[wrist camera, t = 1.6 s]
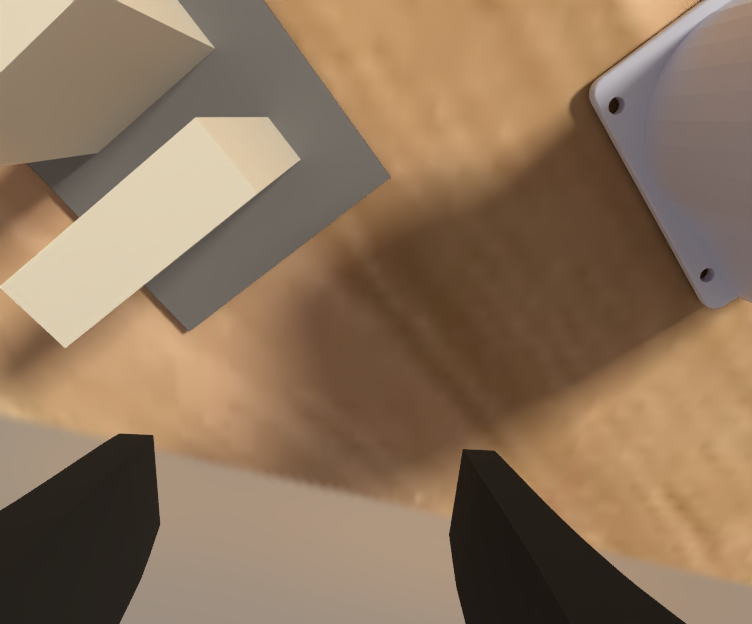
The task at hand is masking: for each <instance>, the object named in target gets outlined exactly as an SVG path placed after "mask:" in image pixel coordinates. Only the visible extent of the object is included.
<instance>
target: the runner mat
mask: <svg viewBox="0 0 752 624" xmlns="http://www.w3.org/2000/svg"><path fill="white" fill-rule="evenodd" d="M178 1H179V2H180V4H181V5H182V6H183V8H184V9H185V10H186V12H187V13H188V14H189V15H190V17H191V18H192V19H193V21H194V22H195V23H196V24H197V26H198V27H199V28H200V30H201V31H202V32H203V34H204V35H205V36H206V37H207V39H208V40H209V41H210V43H211V44H212V45H213V46H214V48H215V49H214V50H213V51H212V52H211V53H210V54H209V55H208V56H207V57H205V58H204V59H203V60H202V61H201V62H200V63H199V64H198V65H196V66H195V67H194V68H193V69H192V70H191V71H190V72H189V73H187V74H186V75H185V76H184V77H183V78H182V79H181V80H179V81H178V82H177V83H176V84H175V85H174V86H173V87H172V88H170V89H169V90H168V91H167V92H166V93H165V94H164V95H163V96H161V97H160V98H159V99H158V100H157V101H156V102H155V103H154V104H152V105H151V106H150V107H149V108H148V109H147V110H146V111H145V112H143V113H142V114H141V115H140V116H139V117H138V118H137V119H136V120H134V121H133V122H132V123H131V124H130V125H129V126H128V127H127V128H125V129H124V130H123V131H122V132H121V133H120V134H119V135H118V136H116V137H115V138H114V139H113V140H112V141H111V142H110V143H109V144H107V145H106V146H105V147H104V148H103V149H102V150H101V151H100V152H98V153H95V154H88V155H81V156H73V157H66V158H59V159H52V160H45V161H38V162H31V163H27V164H28V165H29V166H30V167H31V168H32V169H33V170H34V171H35V172H36V173H37V174H38V175H39V176H40V177H41V179H42V180H43V181H44V182H45V183H46V184H47V185H48V186H49V187H50V188H51V189H52V190H53V191H54V192H55V193H56V194H57V195H58V196H59V197H60V198H61V199H62V200H63V201H64V202H65V203H66V204H67V206H68V207H69V208H70V209H71V210H72V211H73V212H74V213H75V214H76V215H77V216H78V217H79V218H80V217H81V216H82V215H83V214H84V213H85V212H87V211H88V210H89V209H90V208H91V207H92V206H93V205H95V204H96V203H97V202H98V201H99V200H100V199H102V198H103V197H104V196H105V195H106V194H107V193H108V192H110V191H111V190H112V189H113V188H114V187H115V186H117V185H118V184H119V183H120V182H121V181H122V180H124V179H125V178H126V177H127V176H128V175H129V174H130V173H132V172H133V171H134V170H135V169H136V168H137V167H139V166H140V165H141V164H142V163H143V162H144V161H146V160H147V159H148V158H149V157H150V156H151V155H152V154H154V153H155V152H156V151H157V150H158V149H159V148H161V147H162V146H163V145H164V144H165V143H166V142H168V141H169V140H170V139H171V138H172V137H173V136H174V135H176V134H177V133H178V132H179V131H180V130H181V129H183V128H184V127H185V126H186V125H187V124H188V123H190V122H191V121H192V120H193V119H194V118H195V117H268V118H269V119H270V120H271V122H272V123H273V124H274V126H275V127H276V128H277V129H278V131H279V132H280V133H281V135H282V136H283V137H284V138H285V140H286V141H287V142H288V144H289V145H290V146H291V148H292V149H293V150H294V151H295V153H296V154H297V155H298V157H299V158H300V159H301V160H299V161H298V162H297V163H296V164H294V165H293V166H292V167H291V168H290V169H288V170H287V171H286V172H285V173H283V174H282V175H281V176H280V177H278V178H277V179H276V180H275V181H273V182H272V183H271V184H270V185H268V186H267V187H266V188H265V189H263V190H262V191H261V192H260V193H258V194H257V195H256V196H255V197H253V198H252V199H251V200H250V201H249V202H247V203H246V204H245V205H244V206H242V207H241V208H240V209H239V210H237V211H236V212H235V213H234V214H232V215H231V216H230V217H229V218H227V219H226V220H225V221H224V222H222V223H221V224H220V225H219V226H217V227H216V228H215V229H214V230H212V231H211V232H210V233H209V234H208V235H206V236H205V237H204V238H203V239H201V240H200V241H199V242H198V243H196V244H195V245H194V246H193V247H191V248H190V249H189V250H188V251H186V252H185V253H184V254H183V255H181V256H180V257H179V258H178V259H176V260H175V261H174V262H173V263H171V264H170V265H169V266H168V267H166V268H165V269H164V270H163V271H161V272H160V273H159V274H158V275H156V276H155V277H154V278H153V279H151V280H150V281H149V282H148V283H146V284H145V287H146V288H147V289H148V290H149V291H150V292H151V293H152V294H153V295H154V296H155V297H156V298H157V299H158V300H159V301H160V302H161V303H162V304H163V305H164V306H165V307H166V308H167V309H168V310H169V311H170V312H171V313H172V315H173V316H174V317H175V318H176V319H177V320H178V321H179V322H180V323H181V324H182V325H183V326H184V327H185V328H186V329H187V330H188V331H191V330H192V329H193V328H195V327H196V326H197V325H199V324H200V323H201V322H202V321H204V320H205V319H206V318H208V317H209V316H210V315H212V314H213V313H214V312H215V311H217V310H218V309H219V308H221V307H222V306H223V305H225V304H226V303H227V302H229V301H230V300H231V299H232V298H234V297H235V296H236V295H238V294H239V293H240V292H242V291H243V290H244V289H245V288H247V287H248V286H249V285H251V284H252V283H253V282H255V281H256V280H257V279H259V278H260V277H261V276H262V275H264V274H265V273H266V272H268V271H269V270H270V269H272V268H273V267H274V266H275V265H277V264H278V263H279V262H281V261H282V260H283V259H285V258H286V257H287V256H289V255H290V254H291V253H292V252H294V251H295V250H296V249H298V248H299V247H300V246H302V245H303V244H304V243H305V242H307V241H308V240H309V239H311V238H312V237H313V236H315V235H316V234H317V233H319V232H320V231H321V230H322V229H324V228H325V227H326V226H328V225H329V224H330V223H332V222H333V221H334V220H335V219H337V218H338V217H339V216H341V215H342V214H343V213H345V212H346V211H347V210H349V209H350V208H351V207H352V206H354V205H355V204H356V203H358V202H359V201H360V200H362V199H363V198H364V197H365V196H367V195H368V194H369V193H371V192H372V191H373V190H375V189H376V188H377V187H379V186H380V185H381V184H382V183H384V182H385V181H386V180H388V179H389V178H390V175H389V174H388V172H387V171H386V170H385V168H384V167H383V165H382V164H381V163H380V161H379V160H378V158H377V157H376V156H375V154H374V153H373V151H372V150H371V149H370V147H369V146H368V144H367V143H366V142H365V140H364V139H363V138H362V136H361V135H360V133H359V132H358V131H357V129H356V128H355V126H354V125H353V124H352V122H351V121H350V119H349V118H348V117H347V115H346V114H345V112H344V111H343V110H342V108H341V107H340V106H339V104H338V103H337V101H336V100H335V99H334V97H333V96H332V94H331V93H330V92H329V90H328V89H327V87H326V86H325V85H324V83H323V82H322V80H321V79H320V78H319V76H318V75H317V74H316V72H315V71H314V69H313V68H312V67H311V65H310V64H309V62H308V61H307V60H306V58H305V57H304V55H303V54H302V53H301V51H300V50H299V48H298V47H297V46H296V44H295V43H294V41H293V40H292V39H291V37H290V36H289V35H288V33H287V32H286V30H285V29H284V28H283V26H282V25H281V23H280V22H279V21H278V19H277V18H276V16H275V15H274V14H273V12H272V11H271V9H270V8H269V7H268V5H267V4H266V3H265V1H264V0H178Z"/></svg>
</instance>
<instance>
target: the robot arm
mask: <svg viewBox="0 0 752 624" xmlns="http://www.w3.org/2000/svg"><path fill="white" fill-rule="evenodd" d="M613 98H616V99H617V100H618V101H619V108H618V110H617V111H616V112H615V113H614V114H612V113H611V112H610V111H609V108H608V106H609V102H610V101H611V100H612V99H613ZM589 99H590V102H591V104H592V106H593V108H594V109H595V111H596V113H597V115H598V117H599V118H600V120H601V122H602V124H603V126H604V128H605V129H606V131H607V133H608V135H609V137H610V138H611V140H612V142H613V144H614V146H615V148H616V149H617V151H618V153H619V155H620V157H621V158H622V160H623V162H624V164H625V166H626V168H627V169H628V171H629V173H630V175H631V177H632V178H633V180H634V182H635V184H636V186H637V188H638V189H639V191H640V193H641V195H642V197H643V198H644V200H645V202H646V204H647V206H648V207H649V209H650V211H651V213H652V215H653V217H654V218H655V220H656V222H657V224H658V226H659V227H660V229H661V231H662V233H663V235H664V237H665V238H666V240H667V242H668V244H669V246H670V247H671V249H672V251H673V253H674V255H675V257H676V258H677V260H678V262H679V264H680V266H681V267H682V269H683V271H684V273H685V275H686V277H687V278H688V280H689V282H690V284H691V286H692V287H693V289H694V291H695V293H696V295H697V297H698V298H699V300H700V302H701V303H702V304H703V305H705V306H707V307H709V308H712V309H718V308H721V307H723V306H725V305H726V304H728V303H729V302H731V301H733V300H734V299H736V298H737V297H741V298H743V299H745V300H747V301H749V302H751V303H752V0H702V1H701V2H699V3H698V4H697V5H695V6H694V7H693V8H691V9H690V10H689V11H687V12H686V13H685V14H683V15H682V16H681V17H679V18H678V19H677V20H675V21H674V22H673V23H671V24H670V25H669V26H667V27H666V28H664V29H663V30H662V31H660V32H659V33H658V34H656V35H655V36H654V37H652V38H651V39H650V40H648V41H647V42H646V43H644V44H643V45H642V46H640V47H639V48H638V49H636V50H635V51H634V52H632V53H631V54H630V55H628V56H627V57H625V58H624V59H623V60H621V61H620V62H619V63H617V64H616V65H615V66H613V67H612V68H611V69H609V70H608V71H607V72H605V73H604V74H603V75H601V76H600V77H599V78H597V79H596V80H595V81H594V82H593V83H592V85H591V88H590V90H589ZM704 269H708V272H707V275H706V276H705V277H704V278H702V279H700V274H701V272H702V271H703V270H704ZM159 526H160V516H159V503H158V490H157V478H156V465H155V452H154V439H153V435H139V434H118V435H116V436H114V437H113V438H111V439H109V440H108V441H106V442H105V443H103V444H102V445H100V446H98V447H97V448H96V449H94V450H92V451H91V452H89V453H88V454H86V455H85V456H83V457H82V458H80V459H79V460H77V461H76V462H74V463H73V464H71V465H70V466H68V467H67V468H65V469H64V470H62V471H61V472H60V473H58V474H56V475H55V476H53V477H52V478H50V479H49V480H47V481H46V482H44V483H43V484H41V485H40V486H38V487H37V488H35V489H33V490H32V491H31V492H29V493H28V494H26V495H24V496H23V497H21V498H20V499H18V500H17V501H15V502H13V503H12V504H10V505H9V506H7V507H6V508H4V509H2V510H0V624H119V623H120V621H121V619H122V617H123V615H124V613H125V611H126V609H127V607H128V605H129V603H130V601H131V599H132V596H133V595H134V592H135V590H136V588H137V586H138V584H139V582H140V580H141V578H142V575H143V572H144V569H145V567H146V564H147V561H148V558H149V556H150V553H151V550H152V547H153V544H154V541H155V538H156V535H157V532H158V529H159ZM449 537H450V544H451V552H452V559H453V567H454V574H455V581H456V587H457V591H458V595H459V599H460V603H461V607H462V611H463V615H464V619H465V623H466V624H686V623H685V622H683V621H682V620H681V619H679V618H678V617H677V616H675V615H674V614H673V613H671V612H670V611H669V610H668V609H666V608H665V607H664V606H662V605H661V604H660V603H658V602H657V601H656V600H655V599H653V598H652V597H650V596H649V595H648V594H647V593H646V592H644V591H643V590H642V589H640V588H639V587H638V586H637V585H635V584H634V583H633V582H632V581H631V580H629V579H628V578H627V577H626V576H624V575H623V574H622V573H621V572H620V571H619V570H617V569H616V568H615V567H614V566H613V565H612V564H610V563H609V562H608V561H607V560H606V559H605V558H604V557H603V556H601V555H600V554H599V553H598V552H597V551H596V550H595V549H594V548H592V547H591V546H590V545H589V544H588V543H587V542H586V541H585V540H584V539H582V538H581V537H580V536H579V535H578V534H577V533H576V532H575V531H574V530H573V529H572V528H571V527H570V526H569V525H568V524H567V523H565V522H564V521H563V520H562V519H561V518H560V517H559V516H558V515H557V514H556V513H555V512H554V511H553V510H552V509H551V508H550V507H549V506H548V505H547V504H546V503H545V502H544V501H543V500H542V499H541V498H540V497H539V496H538V495H537V494H536V493H535V492H534V491H533V490H532V489H531V488H530V487H529V486H528V485H527V483H526V482H525V481H524V480H523V479H522V478H521V477H520V476H519V475H518V474H517V473H516V472H515V471H514V470H513V469H512V468H511V467H510V466H509V465H508V464H507V463H506V462H505V461H504V460H503V459H502V458H501V457H500V456H499V455H498V454H497V453H496V452H495V451H488V450H466V449H463V452H462V458H461V464H460V471H459V477H458V483H457V489H456V495H455V502H454V508H453V514H452V520H451V527H450V533H449Z"/></svg>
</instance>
